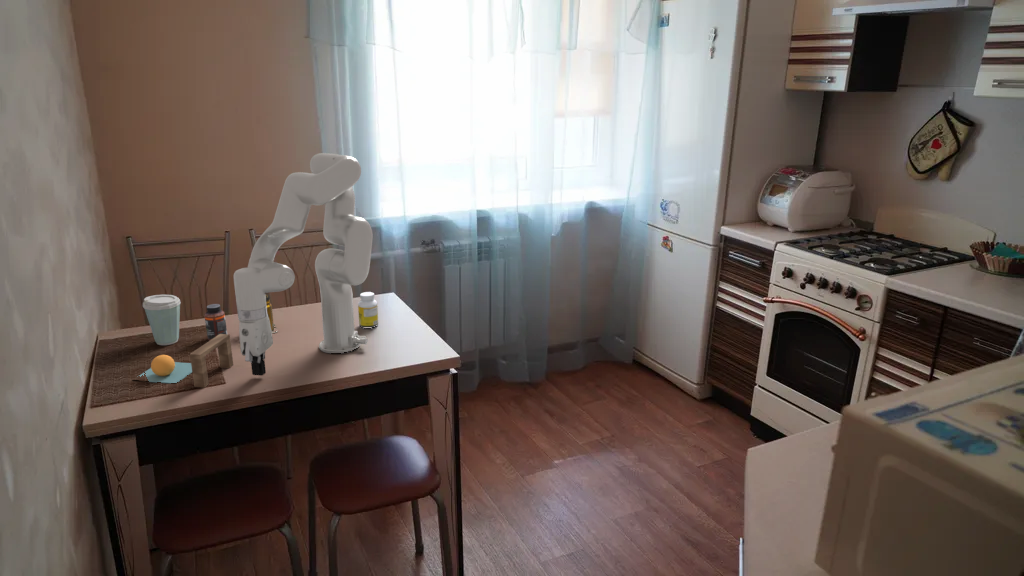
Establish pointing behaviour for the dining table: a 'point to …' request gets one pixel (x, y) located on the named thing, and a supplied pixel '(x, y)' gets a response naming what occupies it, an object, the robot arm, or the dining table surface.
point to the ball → (162, 365)
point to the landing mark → (174, 377)
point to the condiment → (270, 313)
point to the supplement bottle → (215, 321)
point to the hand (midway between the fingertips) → (259, 373)
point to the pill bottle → (368, 310)
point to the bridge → (199, 355)
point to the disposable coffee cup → (163, 317)
